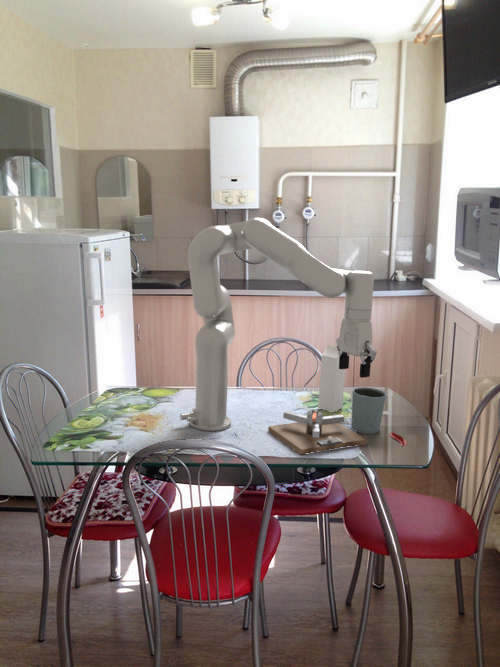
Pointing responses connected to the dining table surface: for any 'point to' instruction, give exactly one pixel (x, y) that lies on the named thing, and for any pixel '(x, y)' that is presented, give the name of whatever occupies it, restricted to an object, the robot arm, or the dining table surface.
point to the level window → (329, 442)
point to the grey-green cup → (367, 409)
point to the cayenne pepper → (398, 438)
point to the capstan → (314, 420)
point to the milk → (331, 381)
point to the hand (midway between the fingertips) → (353, 372)
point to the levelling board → (307, 443)
